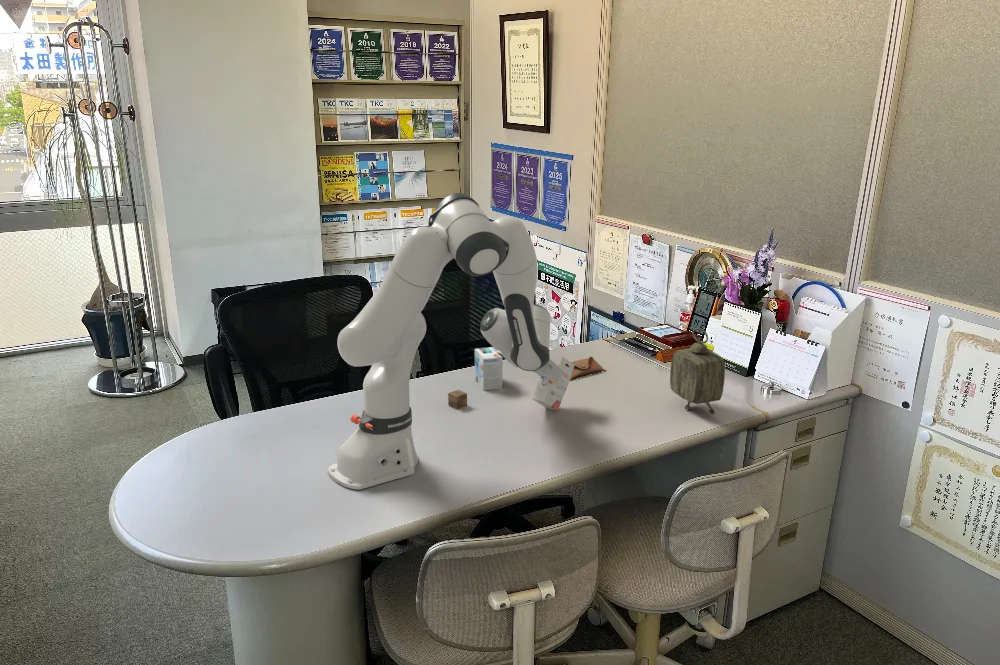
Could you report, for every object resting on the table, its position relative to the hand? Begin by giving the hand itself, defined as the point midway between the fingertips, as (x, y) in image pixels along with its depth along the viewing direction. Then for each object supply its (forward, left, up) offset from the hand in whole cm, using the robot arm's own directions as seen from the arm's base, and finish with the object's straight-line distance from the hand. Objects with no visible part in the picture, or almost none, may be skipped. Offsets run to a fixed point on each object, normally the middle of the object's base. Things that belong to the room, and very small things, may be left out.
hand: (546, 376), depth 209 cm
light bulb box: (+3, +29, -12) cm, 31 cm away
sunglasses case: (+33, +15, -12) cm, 38 cm away
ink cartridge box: (-1, 0, -9) cm, 9 cm away
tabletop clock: (+33, -28, -12) cm, 45 cm away
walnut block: (-16, +22, -11) cm, 29 cm away
